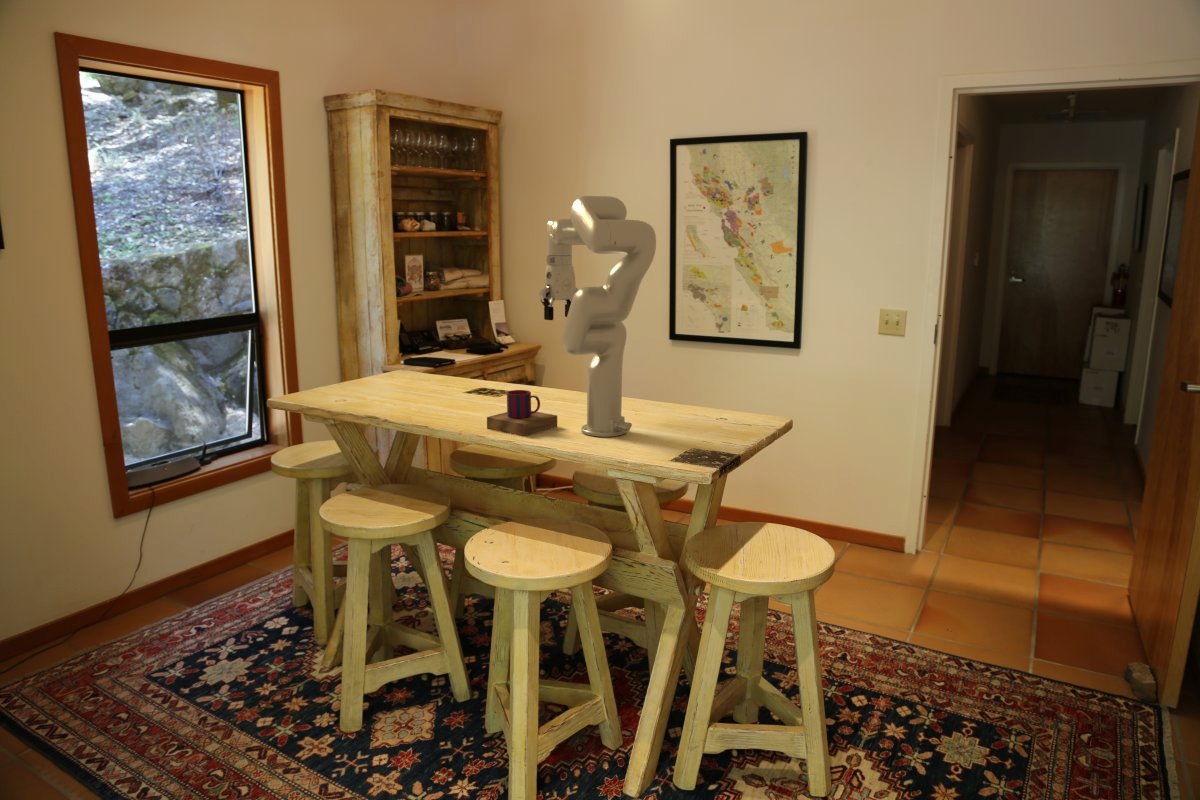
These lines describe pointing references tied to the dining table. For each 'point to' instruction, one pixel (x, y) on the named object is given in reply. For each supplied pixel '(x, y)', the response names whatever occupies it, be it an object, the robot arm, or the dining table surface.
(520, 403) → the mug
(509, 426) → the walnut block
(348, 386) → the dining table surface
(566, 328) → the robot arm
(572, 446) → the dining table surface
